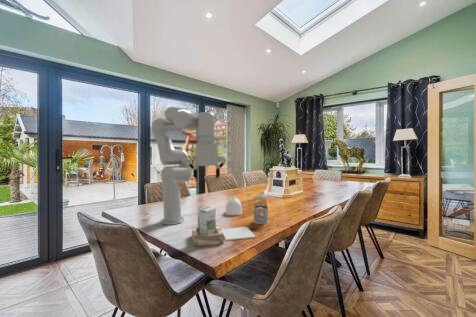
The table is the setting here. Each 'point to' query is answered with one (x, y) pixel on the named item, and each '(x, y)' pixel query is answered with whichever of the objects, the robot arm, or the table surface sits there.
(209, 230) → the syrup box
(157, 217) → the table surface
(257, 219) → the grey lantern
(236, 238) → the mat
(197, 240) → the holder
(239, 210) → the teardrop
